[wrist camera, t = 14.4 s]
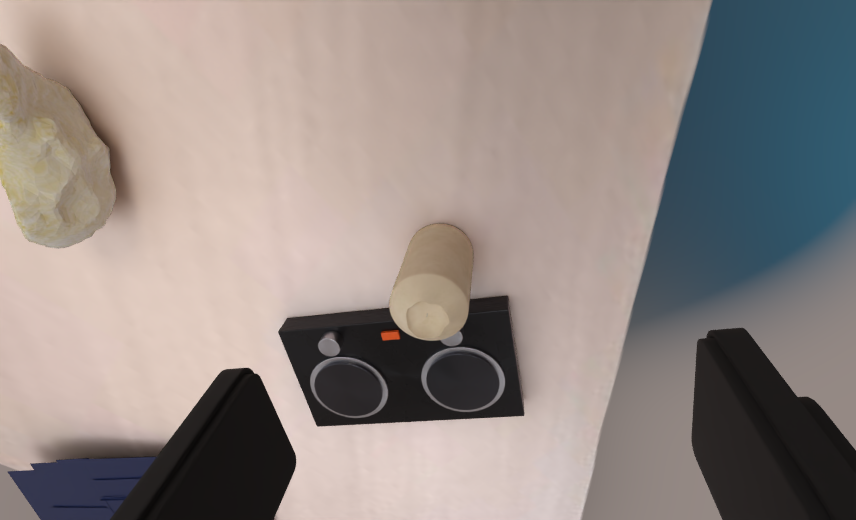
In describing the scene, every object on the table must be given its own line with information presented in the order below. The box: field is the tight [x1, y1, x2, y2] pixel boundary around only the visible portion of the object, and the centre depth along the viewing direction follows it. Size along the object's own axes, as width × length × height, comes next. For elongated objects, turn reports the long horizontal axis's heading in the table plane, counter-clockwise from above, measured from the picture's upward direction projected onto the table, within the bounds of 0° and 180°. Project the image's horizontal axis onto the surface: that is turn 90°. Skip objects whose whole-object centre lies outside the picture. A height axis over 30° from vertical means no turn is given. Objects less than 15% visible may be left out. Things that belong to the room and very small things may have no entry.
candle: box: [389, 224, 473, 341], centre depth 36 cm, size 6×6×10 cm
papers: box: [8, 457, 156, 520], centre depth 62 cm, size 24×30×4 cm
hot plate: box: [278, 296, 524, 426], centre depth 45 cm, size 12×21×3 cm, turn 102°
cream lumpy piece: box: [0, 44, 116, 248], centre depth 37 cm, size 15×7×15 cm
